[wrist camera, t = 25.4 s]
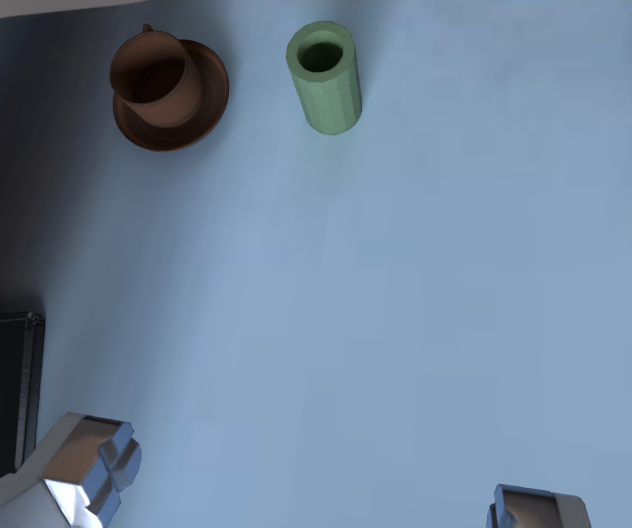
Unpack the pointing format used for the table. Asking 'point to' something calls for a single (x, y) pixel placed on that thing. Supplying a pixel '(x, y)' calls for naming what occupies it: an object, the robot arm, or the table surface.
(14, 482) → the robot arm
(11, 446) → the phone
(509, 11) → the table surface
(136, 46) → the cup and saucer
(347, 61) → the green cylindrical container
